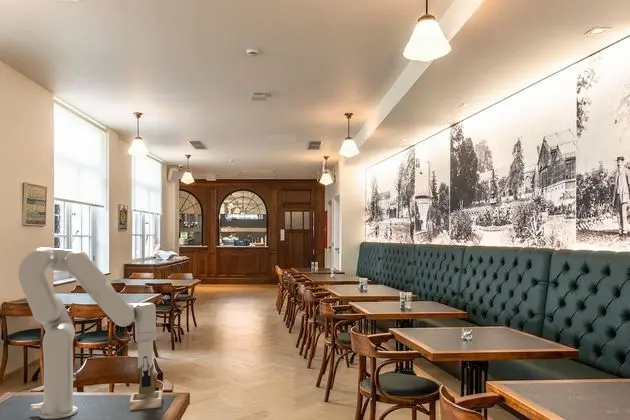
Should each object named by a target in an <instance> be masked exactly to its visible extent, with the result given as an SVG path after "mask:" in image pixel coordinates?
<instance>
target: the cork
mask: <svg viewBox="0 0 630 420" xmlns="http://www.w3.org/2000/svg"><path fill="white" fill-rule="evenodd" d="M154 366H155V365H154V363H153V362H152V367H150V375H151V386H150V387H142V367H141V368H140V369H139V368H138V370H139V371H140V376H139V377H140V378H139V385H138V393H139V394H151V393H154V392H155V391H156V388H155V387H156V386H155V381H154V375H153V371H154ZM147 367H149V366H147ZM143 368H144V366H143ZM147 370H148V369H147Z"/></svg>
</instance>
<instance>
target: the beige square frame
mask: <svg viewBox="0 0 630 420" xmlns="http://www.w3.org/2000/svg"><path fill="white" fill-rule="evenodd" d="M162 393H163V391H162V390H155V392H154V393H151V394H139V392H134V393H131V396H130V400H129V410H130V411H133V410H135V411H136V410H145V409H155V408H162V403H163V402H162V401H163V394H162Z"/></svg>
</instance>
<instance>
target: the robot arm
mask: <svg viewBox="0 0 630 420" xmlns="http://www.w3.org/2000/svg"><path fill="white" fill-rule="evenodd" d="M46 271H51V272H52V271H53V272H54V271H55V272H65V273H66V272H67V273H68V274H69V275H70V276H71V277H72V278H73V279H74V280H75V281H76V282H77V283H78V284H79V285H80V287H82V289H83V290H84V291H85V292H86V293H87V294H88V295H89V296H90V298H91V299H92V300H93V301H94V302H95V303H96V304H97V305H98V307H99V308H100V309H101V310H102V311H103V312H104V313H105V315H106V316H107V317H108V318H110V319H111V320H112V322H113V323H115V325H117V326H119V327H127V326H130V325H131V324H132V323H134V326H135V327H134V330H135V332H134V334H135V340H134V341H135V342H136V343H137V368H138V370H139V369H140V368H141V367H142V387H150V386H151V375H150V367H152V363H153V361H154V359H153V358H154V341H155V340H157V318H156V317H157V313H156V312H157V311H156V310H157V309H156V304H155V303H154V302H141V303H140V302H139V303H130V302H129V303H127V302H126V301H125V300H124V299H123V298H122V297H121V296H120V295H119V294H118V292H117V291H116V290H115V288H114V287H113V285H112V283H111V281H110V280H109V278H108V277H107V276H106V275H105V274H104V273H103V271H101V270H100V268H98V267H97V265H96V264H95V263H94V262H93V261H92V259H90V257H89V255H88V254H87V252H85V251H83V250H77V249H64V248H53V247H37V248H35V249H32V250H30V251H29V252H28V253H27V254H26V255H25V257H24V258H23V259H22V260H21V262H20V264H19V266H18V275H17V276H18V281H19V284H20V286H21V289H22V291H23V293H24V296H25V299H26V301H27V303H28V306H29V308H30V310H31V313H32V316H33V317H34V320H35V321H37V322H38V323H40V324H41V325H42V327H43V330H44V331H45V333H44V335H43V338H42V352H43V402H40V403H31V404H30V409H29V410H30V411H32V412H36V411H39V412H38V417H39V418H41V419H44V420H56V419H62V418H63V419H64V418H68V417H70V416H72V415H75V414H76V413H77V412H78V409H79V408H78V407H77V406H76V405H74V360H73V359H74V357H73V356H74V355H73V354H74V352H73V345H74V344H73V342H74V340H75V337H76V328H75V326H74V324H73V321H72V320H71V317H70V315H69V312H68V310H67V308H66V305H65V303H64V302H63V301H62V299H61V298H59V297H58V296H56V295H54V292H53V290H52V288H51V285H50V283H49V281H48V279H47V277H46ZM143 366H144V368H143ZM147 366H149V367H147ZM147 369H148V370H147Z"/></svg>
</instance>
